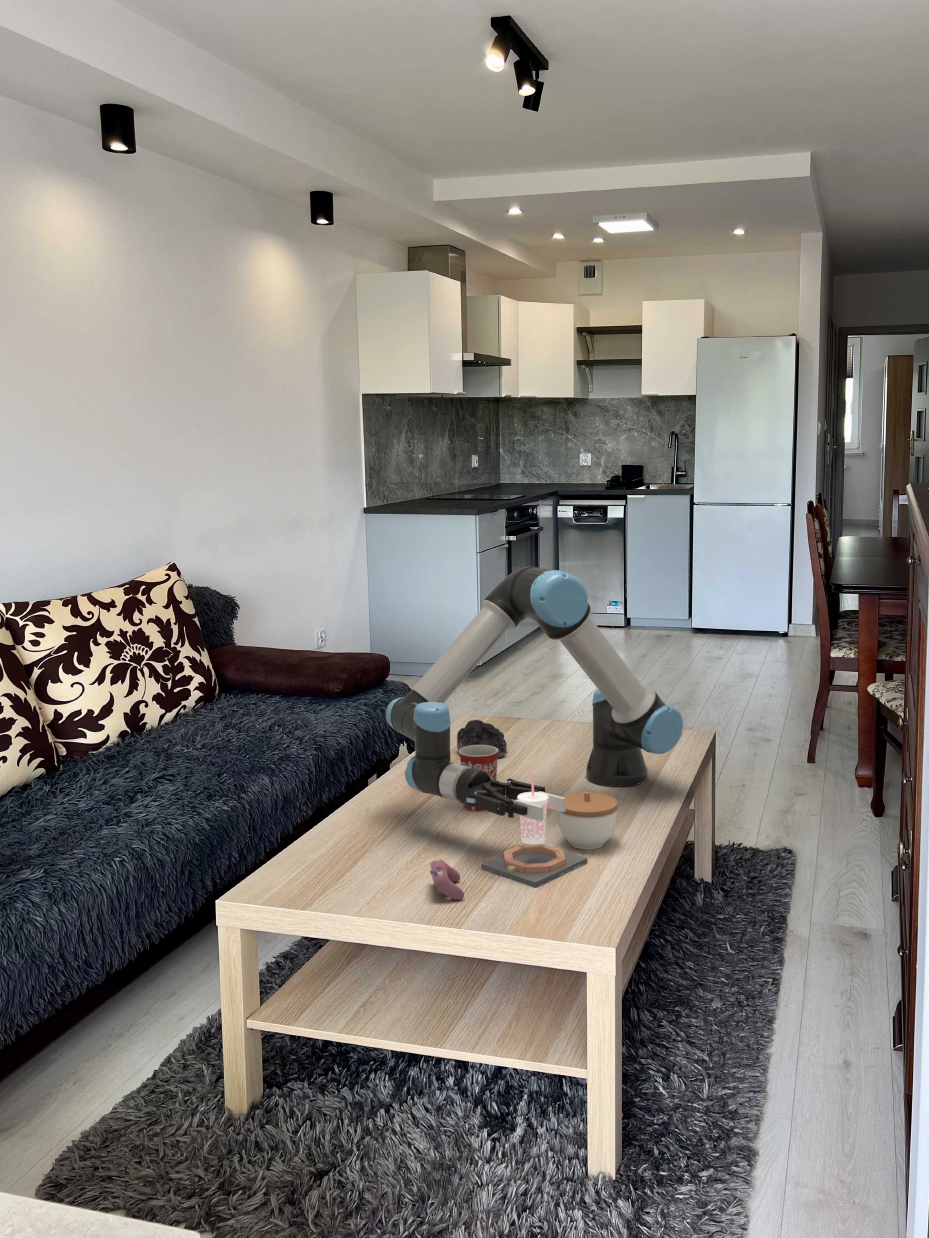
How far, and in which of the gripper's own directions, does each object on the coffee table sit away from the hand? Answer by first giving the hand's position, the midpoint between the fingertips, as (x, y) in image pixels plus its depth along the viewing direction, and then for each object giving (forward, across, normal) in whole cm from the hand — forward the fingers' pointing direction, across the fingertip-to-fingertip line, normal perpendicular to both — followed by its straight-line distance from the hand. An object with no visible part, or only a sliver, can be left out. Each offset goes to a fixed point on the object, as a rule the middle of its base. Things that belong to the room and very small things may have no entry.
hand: (553, 809), depth 210 cm
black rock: (-66, -51, -13) cm, 84 cm away
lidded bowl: (-4, -17, -13) cm, 22 cm away
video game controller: (-10, +20, -13) cm, 26 cm away
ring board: (-5, 0, -13) cm, 14 cm away
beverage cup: (-5, 0, -8) cm, 9 cm away
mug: (-38, -21, -13) cm, 45 cm away
